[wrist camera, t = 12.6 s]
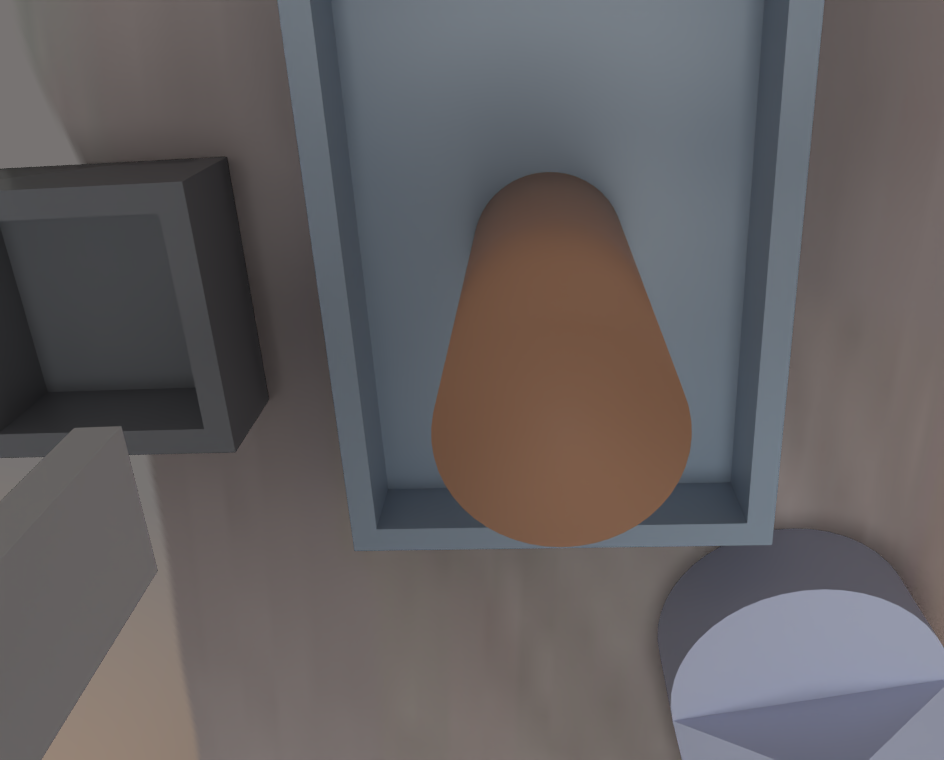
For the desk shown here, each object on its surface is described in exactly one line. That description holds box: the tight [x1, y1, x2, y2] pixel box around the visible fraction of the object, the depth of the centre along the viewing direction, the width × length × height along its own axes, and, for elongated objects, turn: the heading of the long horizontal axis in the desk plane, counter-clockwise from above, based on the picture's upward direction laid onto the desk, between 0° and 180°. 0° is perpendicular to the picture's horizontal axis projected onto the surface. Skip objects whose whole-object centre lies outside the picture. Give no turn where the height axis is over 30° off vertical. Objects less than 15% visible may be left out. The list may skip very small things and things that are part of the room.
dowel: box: [431, 172, 692, 547], centre depth 20 cm, size 4×4×12 cm
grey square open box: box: [0, 157, 269, 458], centre depth 26 cm, size 8×8×4 cm
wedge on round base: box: [658, 528, 944, 760], centre depth 29 cm, size 9×7×13 cm
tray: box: [277, 0, 824, 551], centre depth 25 cm, size 13×18×3 cm
